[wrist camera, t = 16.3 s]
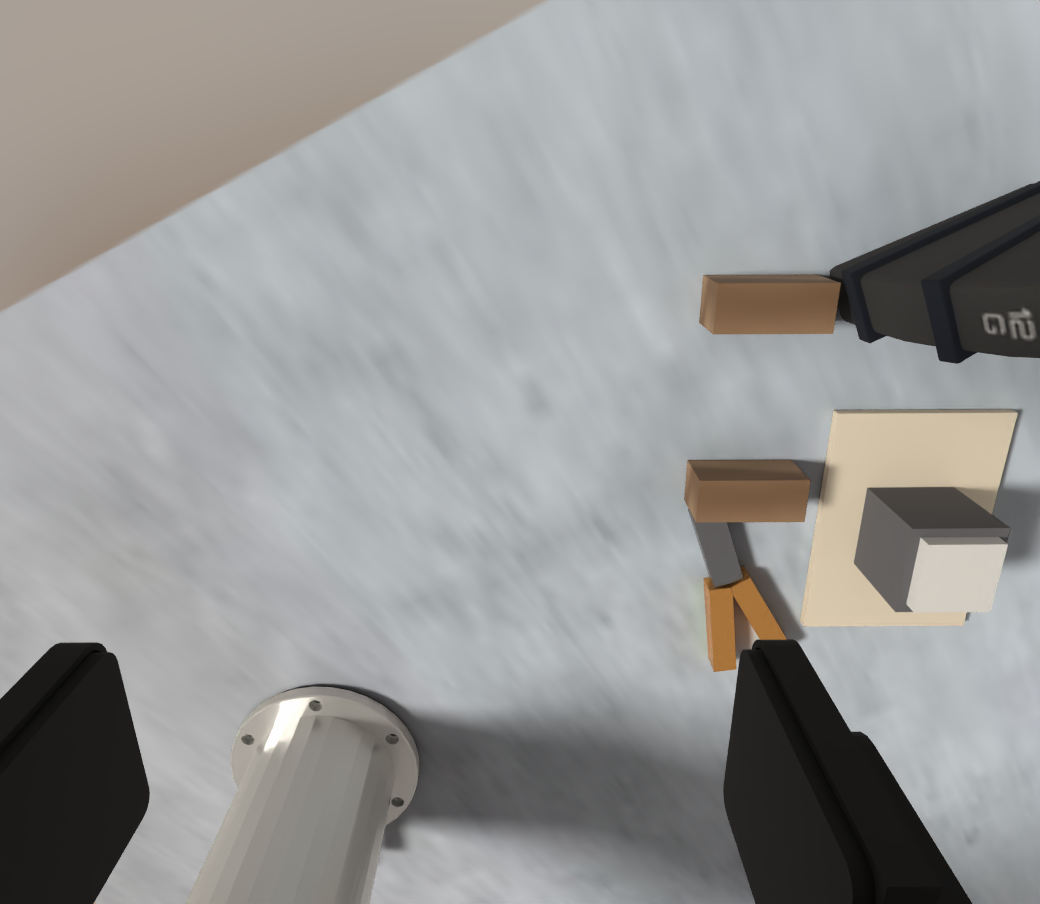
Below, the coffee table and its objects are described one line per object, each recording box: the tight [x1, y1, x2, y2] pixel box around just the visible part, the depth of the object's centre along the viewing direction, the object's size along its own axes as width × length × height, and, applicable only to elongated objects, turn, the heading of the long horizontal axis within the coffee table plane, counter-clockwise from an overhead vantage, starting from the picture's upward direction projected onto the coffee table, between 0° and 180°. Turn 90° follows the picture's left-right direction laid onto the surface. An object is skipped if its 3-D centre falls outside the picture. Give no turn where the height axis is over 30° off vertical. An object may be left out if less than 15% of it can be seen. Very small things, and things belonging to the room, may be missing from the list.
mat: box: [800, 409, 1018, 626], centre depth 43 cm, size 14×10×1 cm
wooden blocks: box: [684, 275, 841, 522], centre depth 39 cm, size 13×6×3 cm, turn 0°
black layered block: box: [830, 181, 1040, 363], centre depth 33 cm, size 4×13×15 cm, turn 114°
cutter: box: [688, 509, 787, 672], centre depth 44 cm, size 11×5×1 cm, turn 20°
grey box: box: [854, 487, 1010, 613], centre depth 40 cm, size 5×5×6 cm
